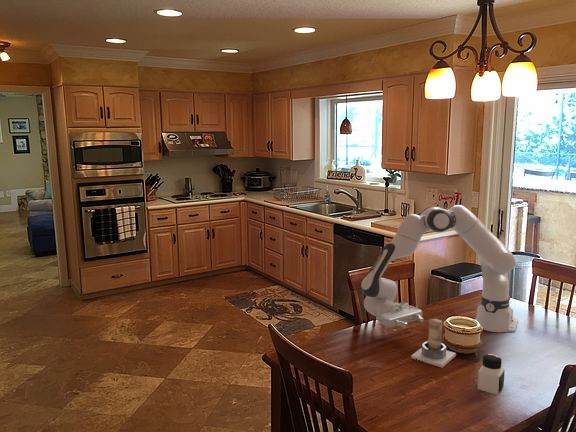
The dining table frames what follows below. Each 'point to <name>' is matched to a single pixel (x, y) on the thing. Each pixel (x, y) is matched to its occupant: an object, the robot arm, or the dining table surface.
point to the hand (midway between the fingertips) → (414, 322)
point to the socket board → (434, 362)
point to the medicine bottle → (491, 374)
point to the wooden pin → (434, 334)
